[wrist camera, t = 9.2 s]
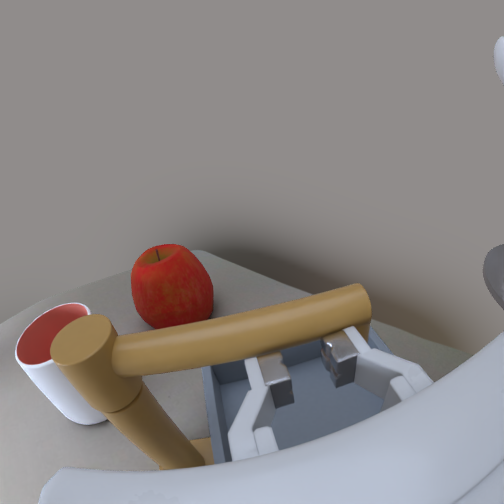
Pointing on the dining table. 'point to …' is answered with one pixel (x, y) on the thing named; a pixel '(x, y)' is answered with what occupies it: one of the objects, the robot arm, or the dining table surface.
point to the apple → (171, 287)
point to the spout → (196, 343)
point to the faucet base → (159, 434)
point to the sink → (296, 414)
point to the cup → (46, 371)
